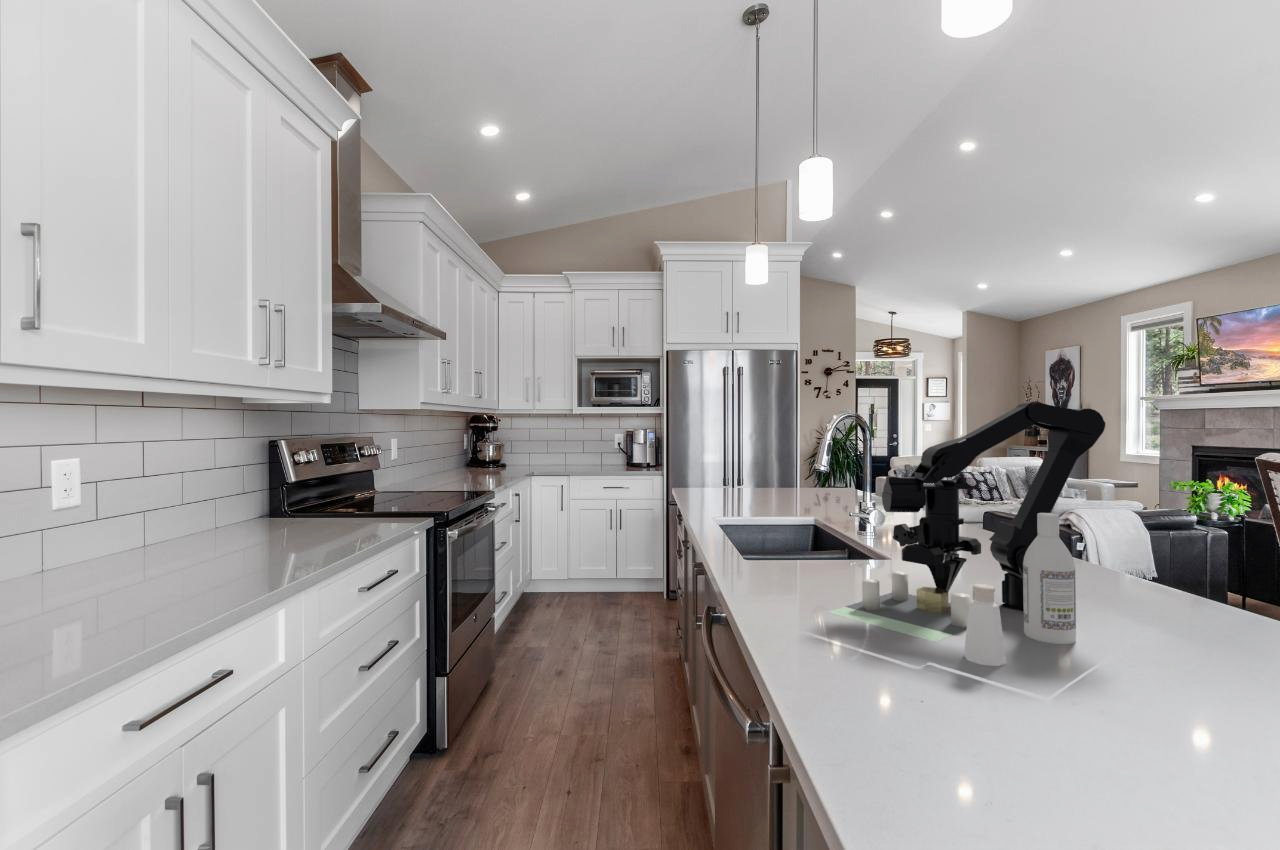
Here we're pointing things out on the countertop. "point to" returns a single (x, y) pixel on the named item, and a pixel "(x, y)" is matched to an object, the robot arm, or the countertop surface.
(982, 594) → the pepper shaker
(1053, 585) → the bath foam
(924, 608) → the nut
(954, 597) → the cylinder
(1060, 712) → the countertop surface
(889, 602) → the mat
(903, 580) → the cylinder
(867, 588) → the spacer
